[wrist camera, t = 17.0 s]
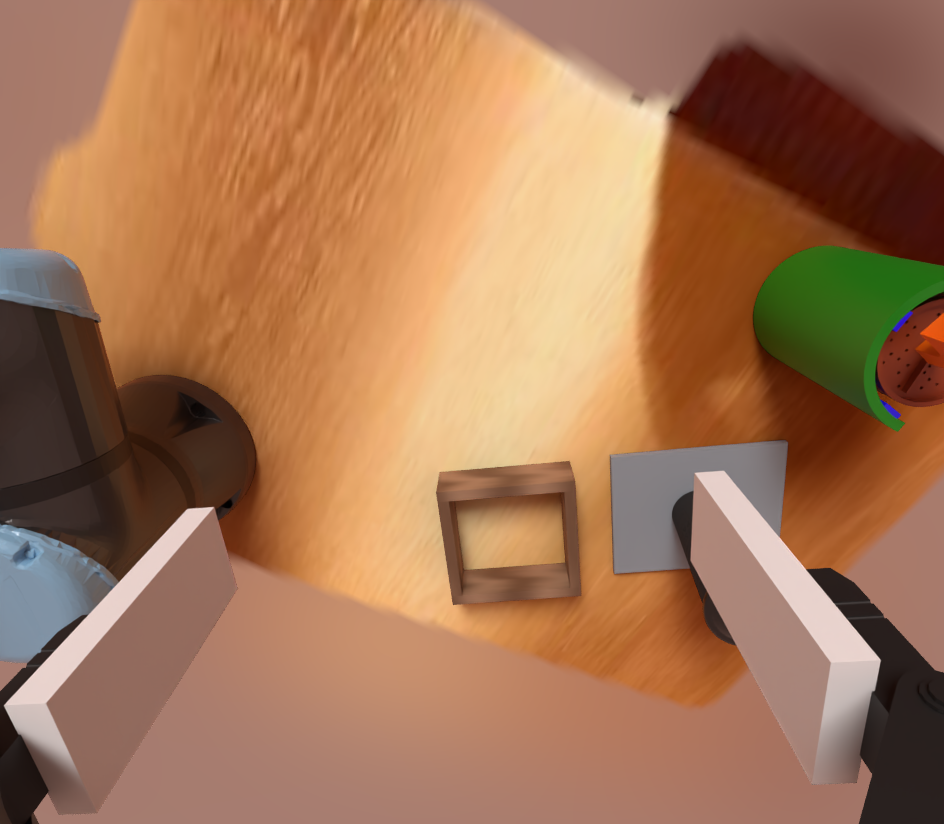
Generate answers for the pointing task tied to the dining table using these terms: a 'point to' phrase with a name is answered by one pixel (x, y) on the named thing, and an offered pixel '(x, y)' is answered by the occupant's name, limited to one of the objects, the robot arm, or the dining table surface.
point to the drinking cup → (683, 526)
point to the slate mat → (667, 479)
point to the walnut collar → (520, 578)
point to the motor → (858, 326)
